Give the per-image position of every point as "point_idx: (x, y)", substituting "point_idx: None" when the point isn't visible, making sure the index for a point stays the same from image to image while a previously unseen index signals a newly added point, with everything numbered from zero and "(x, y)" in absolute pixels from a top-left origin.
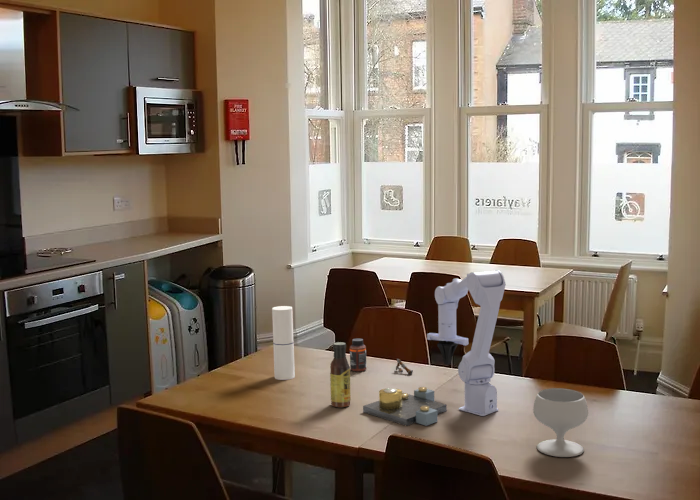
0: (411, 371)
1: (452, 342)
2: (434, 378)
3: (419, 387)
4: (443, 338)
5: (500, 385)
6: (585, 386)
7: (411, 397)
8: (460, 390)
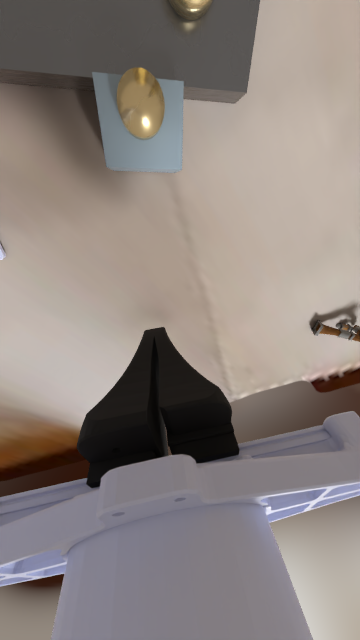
0: (316, 332)
1: (93, 479)
2: (252, 340)
3: (161, 101)
4: (118, 517)
5: None
6: (16, 460)
7: (164, 32)
8: (146, 321)
